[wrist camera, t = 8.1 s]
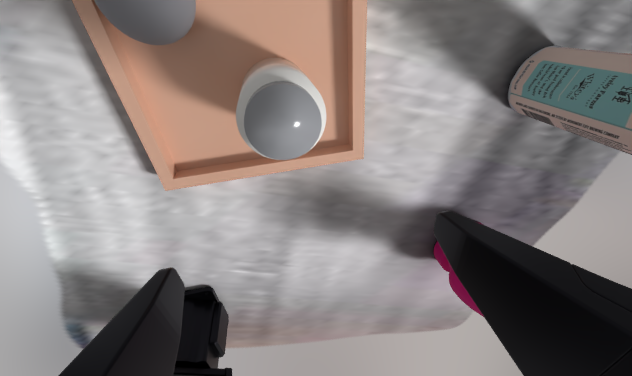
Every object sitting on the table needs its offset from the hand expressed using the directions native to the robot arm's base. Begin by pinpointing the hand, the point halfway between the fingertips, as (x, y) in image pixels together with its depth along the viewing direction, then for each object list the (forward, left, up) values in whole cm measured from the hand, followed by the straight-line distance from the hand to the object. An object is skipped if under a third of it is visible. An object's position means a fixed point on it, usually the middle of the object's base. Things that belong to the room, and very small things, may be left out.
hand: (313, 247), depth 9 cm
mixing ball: (-5, +8, -11) cm, 15 cm away
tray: (-2, +4, -12) cm, 13 cm away
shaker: (0, +2, -11) cm, 11 cm away
